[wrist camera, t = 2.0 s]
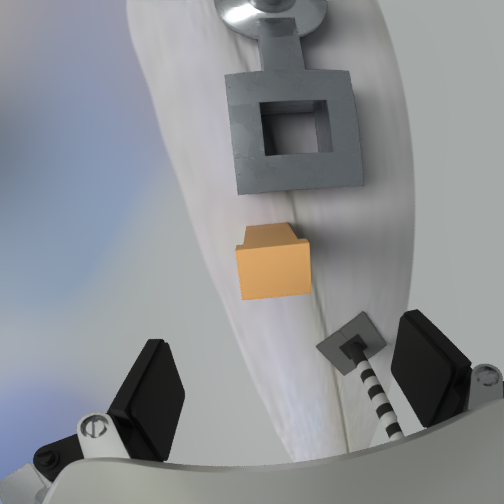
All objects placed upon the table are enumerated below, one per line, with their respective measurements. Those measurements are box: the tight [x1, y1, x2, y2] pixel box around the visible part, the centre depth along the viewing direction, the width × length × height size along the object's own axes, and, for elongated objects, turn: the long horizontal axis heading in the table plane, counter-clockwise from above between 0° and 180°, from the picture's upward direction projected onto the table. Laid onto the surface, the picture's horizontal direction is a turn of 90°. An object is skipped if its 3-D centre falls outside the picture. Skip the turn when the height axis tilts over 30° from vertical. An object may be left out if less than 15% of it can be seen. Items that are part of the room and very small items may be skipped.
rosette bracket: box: [214, 0, 364, 195], centre depth 17 cm, size 26×11×10 cm, turn 6°
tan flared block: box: [235, 223, 311, 300], centre depth 22 cm, size 4×5×9 cm
